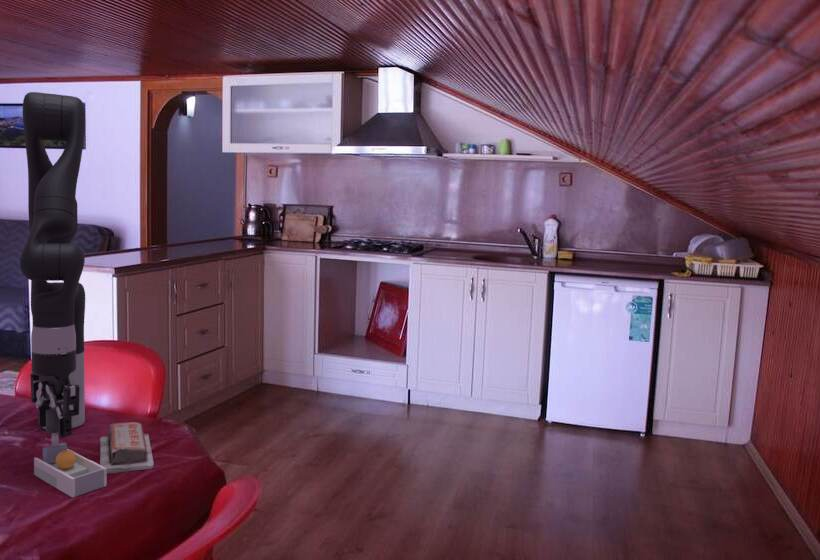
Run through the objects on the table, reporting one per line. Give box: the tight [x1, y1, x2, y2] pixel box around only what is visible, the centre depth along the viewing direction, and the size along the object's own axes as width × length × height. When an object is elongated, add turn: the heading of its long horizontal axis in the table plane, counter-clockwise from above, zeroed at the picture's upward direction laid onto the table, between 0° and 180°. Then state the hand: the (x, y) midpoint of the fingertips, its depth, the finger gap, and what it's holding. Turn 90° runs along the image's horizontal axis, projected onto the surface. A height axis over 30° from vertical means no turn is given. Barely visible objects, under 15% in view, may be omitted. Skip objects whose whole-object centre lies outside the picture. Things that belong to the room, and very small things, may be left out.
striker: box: [42, 408, 68, 464], centre depth 128 cm, size 3×4×10 cm
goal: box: [56, 459, 108, 499], centre depth 123 cm, size 6×6×4 cm
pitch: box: [33, 448, 90, 489], centre depth 127 cm, size 8×6×3 cm
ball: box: [55, 449, 76, 469], centre depth 126 cm, size 4×4×4 cm
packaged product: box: [99, 421, 155, 475], centre depth 139 cm, size 18×5×10 cm
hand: (54, 430), depth 128 cm, fingers open, 7 cm apart
